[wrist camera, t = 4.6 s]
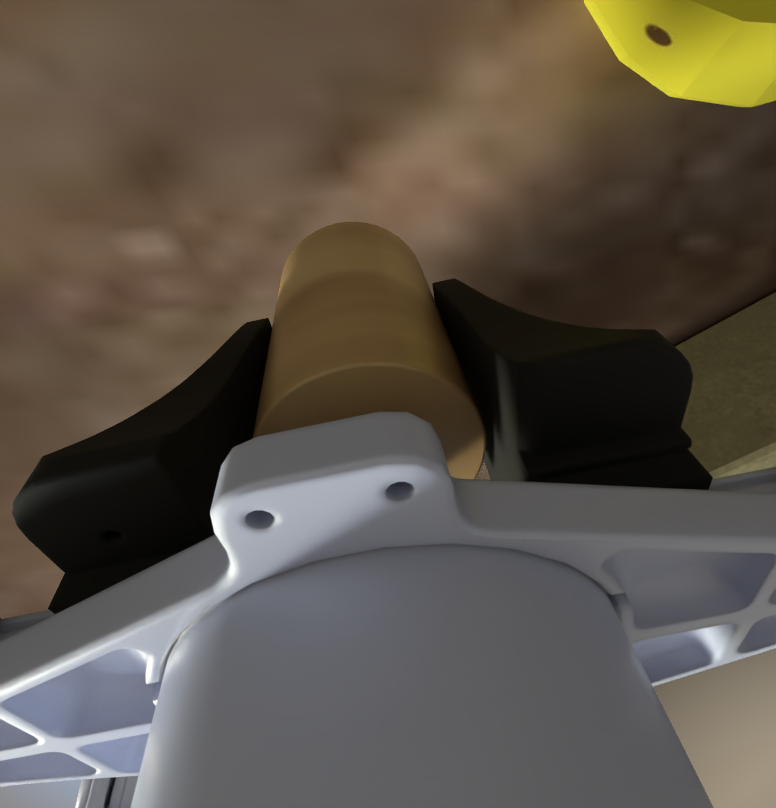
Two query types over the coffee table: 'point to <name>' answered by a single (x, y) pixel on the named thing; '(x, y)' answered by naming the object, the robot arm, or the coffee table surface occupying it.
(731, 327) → the tissue dispenser
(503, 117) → the coffee table surface
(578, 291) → the coffee table surface
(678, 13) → the banana
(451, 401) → the pepper mill
